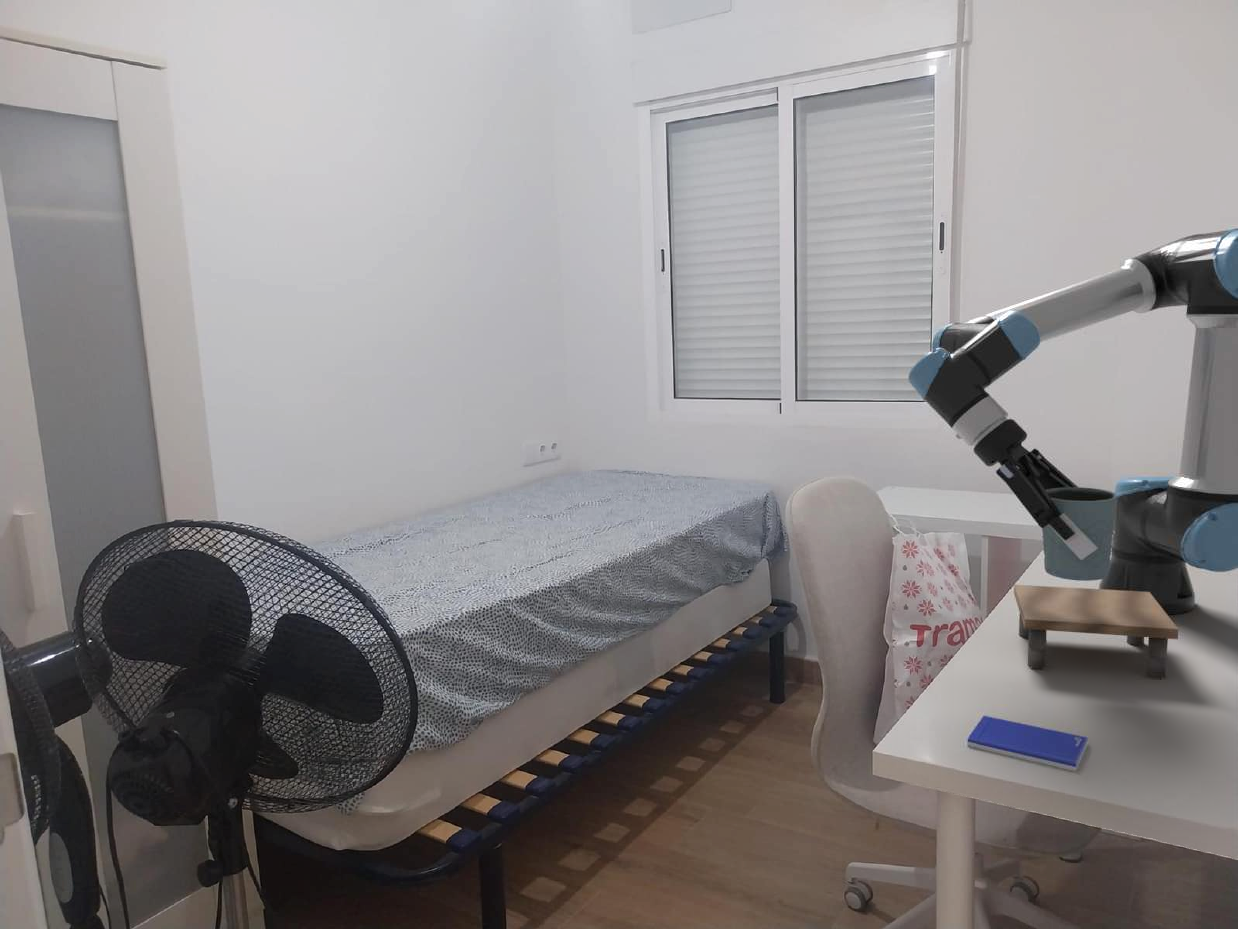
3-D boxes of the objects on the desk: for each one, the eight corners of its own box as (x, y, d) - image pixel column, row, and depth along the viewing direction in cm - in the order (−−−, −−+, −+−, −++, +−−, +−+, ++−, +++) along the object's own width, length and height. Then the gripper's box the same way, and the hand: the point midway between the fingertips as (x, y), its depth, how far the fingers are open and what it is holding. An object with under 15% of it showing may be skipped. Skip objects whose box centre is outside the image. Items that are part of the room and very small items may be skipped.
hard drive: (1088, 736, 113) (984, 714, 120) (1076, 763, 107) (967, 738, 114) (1087, 747, 113) (984, 725, 121) (1075, 775, 107) (966, 749, 114)
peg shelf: (1146, 639, 147) (1149, 591, 146) (1175, 682, 130) (1178, 629, 129) (1012, 630, 154) (1014, 584, 152) (1023, 670, 137) (1025, 619, 135)
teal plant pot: (1123, 582, 129) (1127, 500, 127) (1047, 582, 131) (1050, 501, 129) (1099, 562, 139) (1103, 486, 137) (1029, 562, 141) (1032, 486, 139)
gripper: (997, 439, 151) (1097, 544, 143) (945, 459, 134) (1056, 580, 126) (1031, 408, 146) (1137, 515, 139) (983, 425, 130) (1100, 548, 122)
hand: (1098, 546), depth 133 cm, fingers closed on teal plant pot, 10 cm apart
